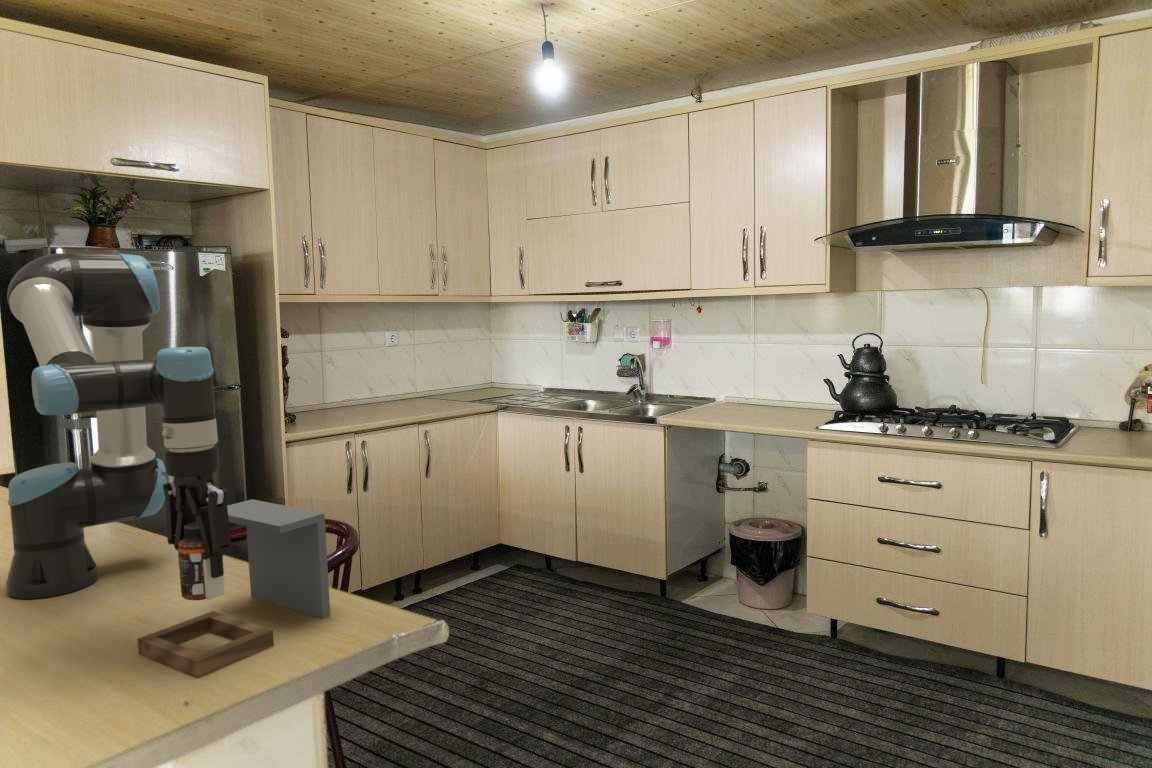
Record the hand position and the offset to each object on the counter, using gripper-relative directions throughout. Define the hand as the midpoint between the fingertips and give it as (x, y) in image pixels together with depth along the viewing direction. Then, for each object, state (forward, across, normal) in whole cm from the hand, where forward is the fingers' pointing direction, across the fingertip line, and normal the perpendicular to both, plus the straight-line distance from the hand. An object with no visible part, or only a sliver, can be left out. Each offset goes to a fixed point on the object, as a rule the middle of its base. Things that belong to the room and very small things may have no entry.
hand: (202, 592), depth 128 cm
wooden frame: (+9, 0, 0) cm, 9 cm away
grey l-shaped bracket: (+9, -4, +15) cm, 18 cm away
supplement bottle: (+1, 0, 0) cm, 1 cm away
